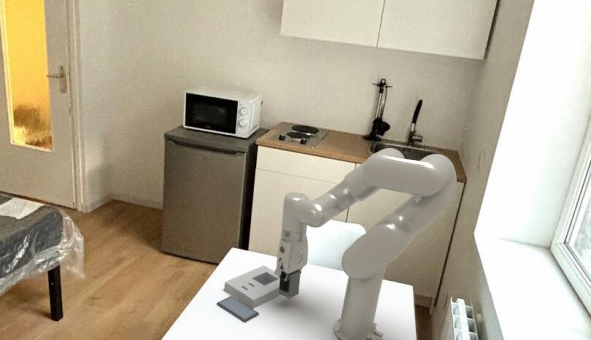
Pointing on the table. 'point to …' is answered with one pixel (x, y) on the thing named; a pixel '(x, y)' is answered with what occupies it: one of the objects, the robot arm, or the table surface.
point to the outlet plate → (254, 286)
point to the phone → (238, 309)
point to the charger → (292, 284)
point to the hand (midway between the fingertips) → (289, 287)
